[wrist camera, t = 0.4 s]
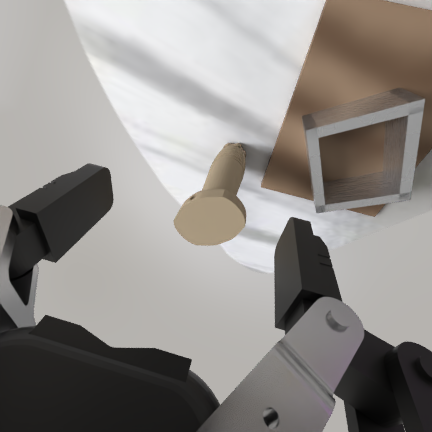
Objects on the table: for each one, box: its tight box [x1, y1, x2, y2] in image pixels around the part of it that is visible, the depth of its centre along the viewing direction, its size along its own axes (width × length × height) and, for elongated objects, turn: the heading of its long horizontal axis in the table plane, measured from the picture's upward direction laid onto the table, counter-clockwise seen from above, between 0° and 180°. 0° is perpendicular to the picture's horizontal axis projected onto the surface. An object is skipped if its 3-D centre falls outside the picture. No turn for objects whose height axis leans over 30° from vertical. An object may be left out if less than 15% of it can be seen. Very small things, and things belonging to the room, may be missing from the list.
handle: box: [174, 143, 246, 245], centre depth 25 cm, size 5×6×15 cm
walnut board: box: [261, 0, 432, 217], centre depth 25 cm, size 20×16×1 cm
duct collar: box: [302, 87, 425, 213], centre depth 24 cm, size 10×9×5 cm
